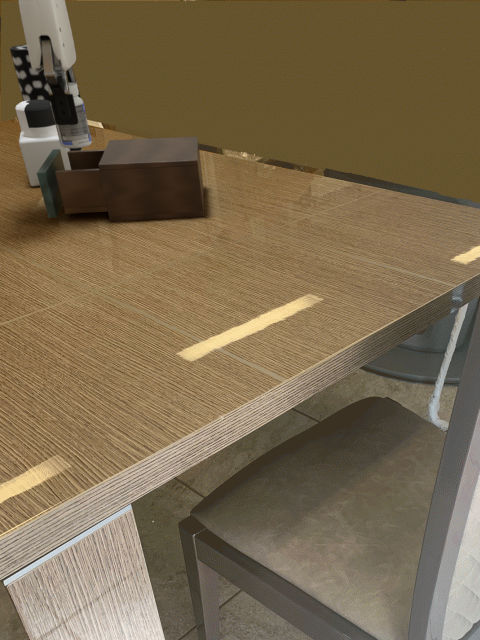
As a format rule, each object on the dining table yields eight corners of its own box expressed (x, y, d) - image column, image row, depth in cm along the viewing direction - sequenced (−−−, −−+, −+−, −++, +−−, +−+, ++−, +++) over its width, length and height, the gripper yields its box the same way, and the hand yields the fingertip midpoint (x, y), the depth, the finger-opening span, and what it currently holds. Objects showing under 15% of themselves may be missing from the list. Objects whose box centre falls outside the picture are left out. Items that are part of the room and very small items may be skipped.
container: (74, 171, 122) (57, 95, 114) (76, 182, 116) (57, 104, 108) (31, 175, 120) (11, 98, 112) (30, 187, 114) (9, 107, 106)
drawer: (40, 218, 99) (27, 173, 95) (55, 191, 110) (45, 149, 105) (137, 213, 101) (129, 168, 97) (143, 187, 111) (136, 145, 107)
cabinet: (110, 221, 100) (98, 164, 95) (119, 192, 112) (109, 140, 107) (204, 216, 102) (197, 160, 97) (203, 188, 113) (197, 136, 108)
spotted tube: (45, 159, 129) (16, 44, 117) (88, 157, 129) (63, 43, 117) (36, 171, 122) (3, 50, 110) (80, 169, 123) (53, 49, 111)
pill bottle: (98, 144, 100) (86, 84, 95) (72, 150, 97) (57, 88, 92) (80, 139, 102) (67, 80, 97) (54, 145, 99) (39, 85, 94)
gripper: (22, -29, 93) (55, 109, 104) (-8, -23, 79) (33, 134, 90) (75, -30, 93) (102, 107, 105) (55, -24, 80) (88, 132, 91)
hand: (70, 118), depth 97 cm, fingers closed on pill bottle, 4 cm apart
